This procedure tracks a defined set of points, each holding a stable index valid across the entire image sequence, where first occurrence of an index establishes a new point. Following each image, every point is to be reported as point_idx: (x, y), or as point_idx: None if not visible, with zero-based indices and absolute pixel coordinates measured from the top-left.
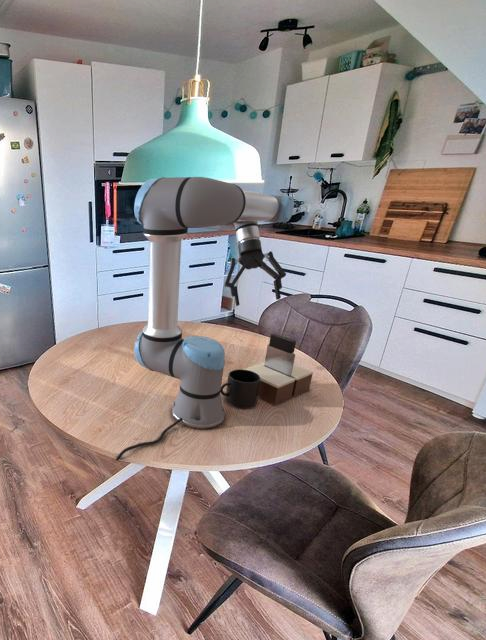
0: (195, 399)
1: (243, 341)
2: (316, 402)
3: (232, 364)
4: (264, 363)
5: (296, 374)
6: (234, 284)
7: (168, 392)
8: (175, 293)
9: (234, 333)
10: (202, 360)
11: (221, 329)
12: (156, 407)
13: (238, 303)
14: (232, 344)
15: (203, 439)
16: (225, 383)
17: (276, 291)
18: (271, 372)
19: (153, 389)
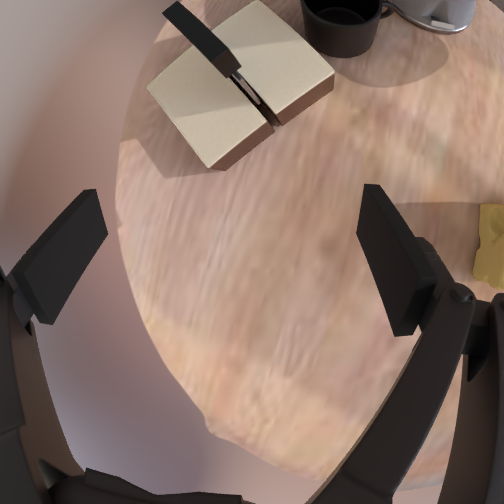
0: None
1: (251, 391)
2: (176, 51)
3: (324, 234)
4: (258, 100)
5: (190, 61)
6: (443, 296)
7: (489, 78)
8: None
9: (261, 436)
10: None
11: (288, 458)
12: (496, 30)
13: (372, 187)
14: (287, 374)
15: None
16: (386, 1)
17: (77, 234)
18: (252, 60)
19: None
